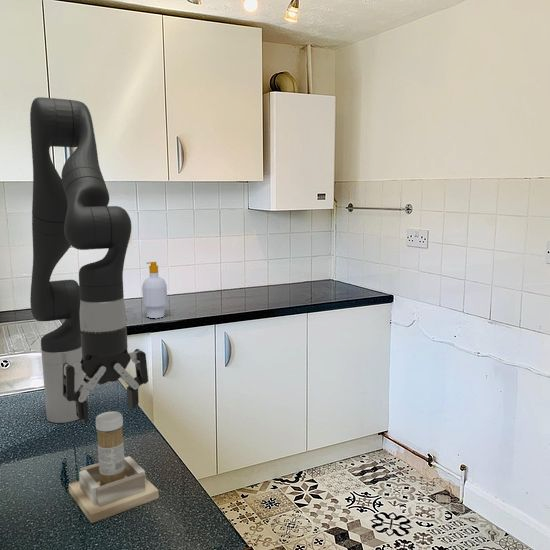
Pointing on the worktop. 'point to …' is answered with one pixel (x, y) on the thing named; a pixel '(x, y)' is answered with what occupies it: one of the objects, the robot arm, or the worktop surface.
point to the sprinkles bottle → (110, 447)
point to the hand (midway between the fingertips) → (108, 414)
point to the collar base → (112, 491)
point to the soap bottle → (154, 293)
